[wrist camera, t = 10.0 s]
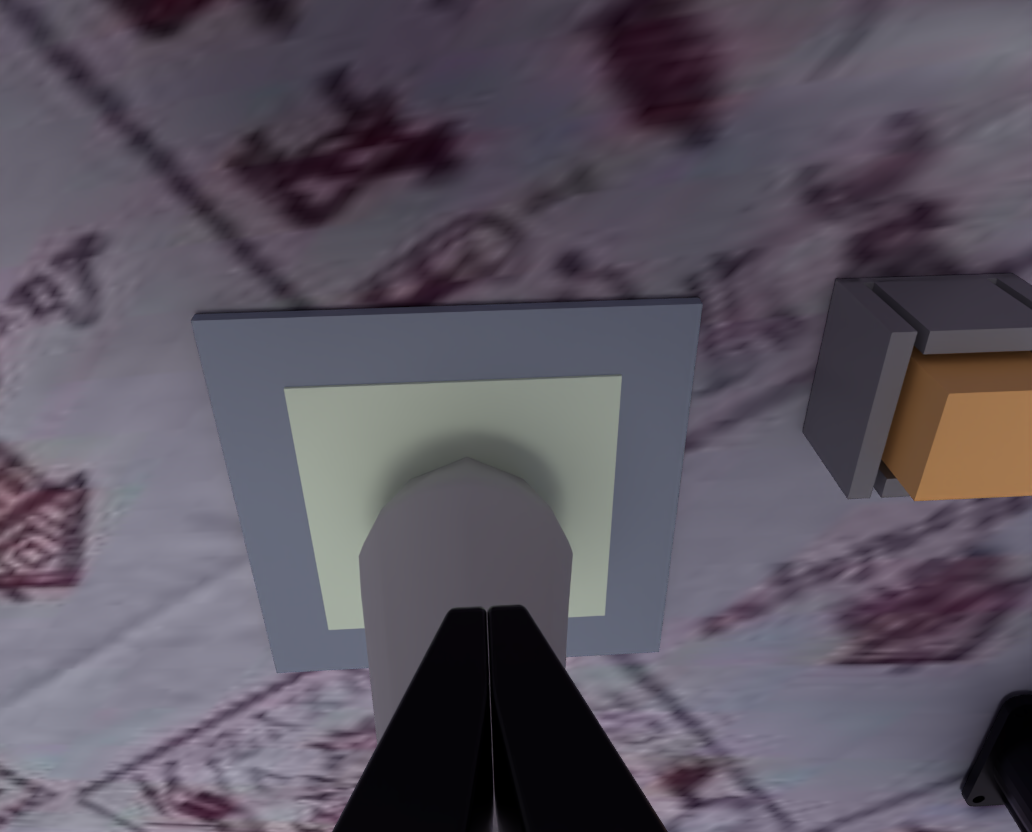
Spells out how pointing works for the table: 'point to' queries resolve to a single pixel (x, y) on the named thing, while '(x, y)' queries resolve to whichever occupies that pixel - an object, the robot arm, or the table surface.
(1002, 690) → the table surface
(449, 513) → the salt shaker
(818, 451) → the button housing
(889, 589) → the table surface
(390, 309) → the grey flat square slab
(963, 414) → the push button
